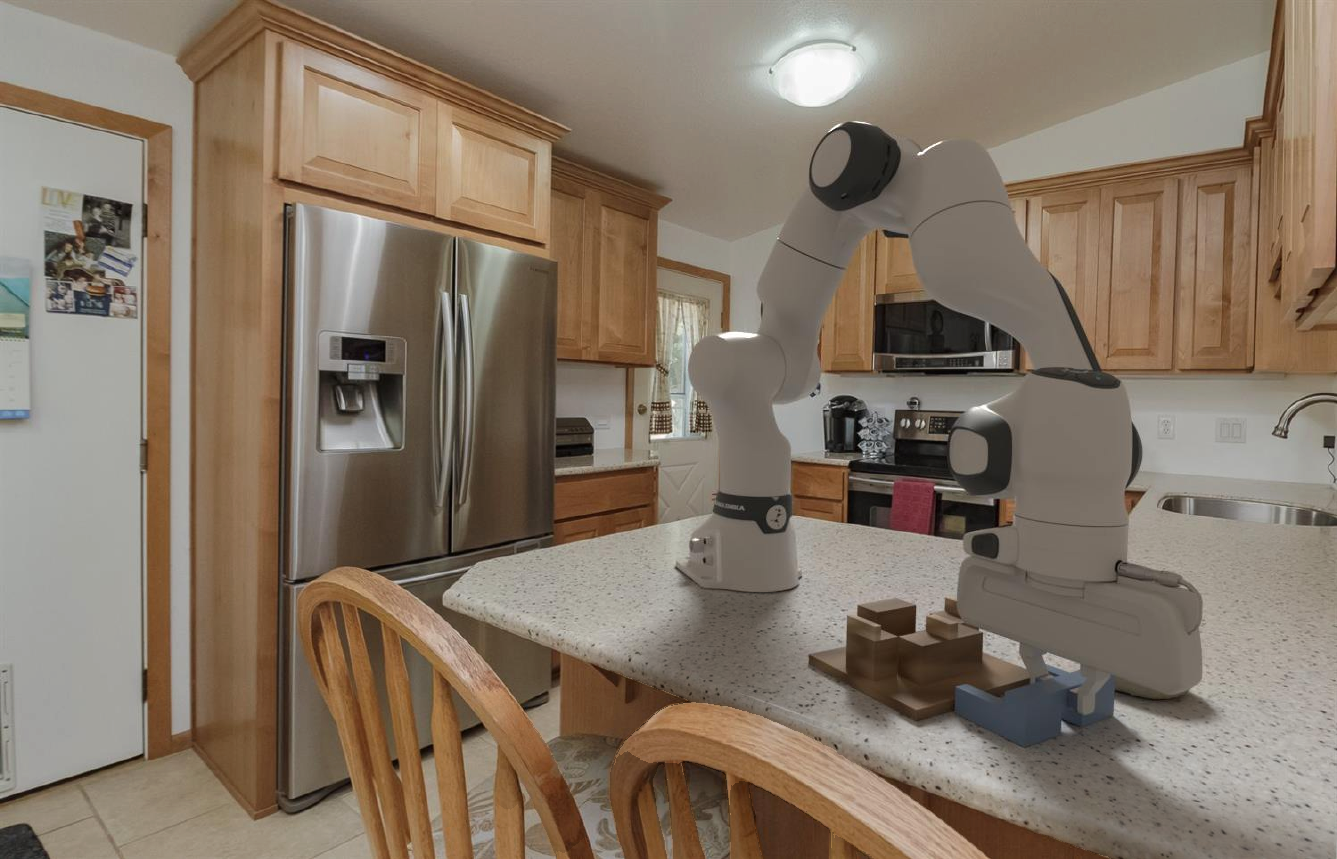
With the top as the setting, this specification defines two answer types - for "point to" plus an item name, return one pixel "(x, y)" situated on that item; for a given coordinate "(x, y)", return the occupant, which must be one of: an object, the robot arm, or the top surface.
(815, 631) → the top surface
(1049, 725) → the blue stepped bracket
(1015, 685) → the stand
